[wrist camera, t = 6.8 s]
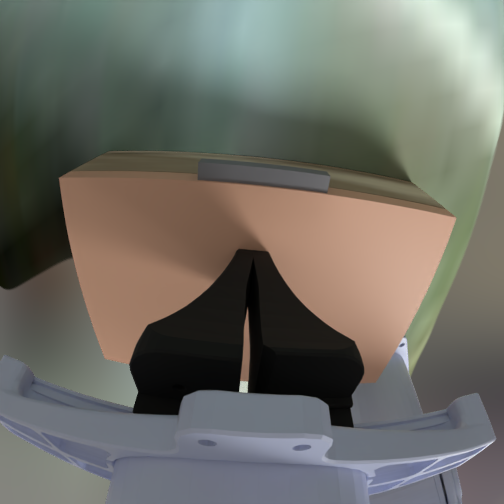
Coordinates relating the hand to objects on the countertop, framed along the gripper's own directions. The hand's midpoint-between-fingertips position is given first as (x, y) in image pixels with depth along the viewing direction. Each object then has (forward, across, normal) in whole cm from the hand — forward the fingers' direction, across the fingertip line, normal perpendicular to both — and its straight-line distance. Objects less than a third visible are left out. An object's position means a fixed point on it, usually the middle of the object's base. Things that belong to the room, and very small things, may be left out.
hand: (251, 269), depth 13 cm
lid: (+1, 0, +2) cm, 2 cm away
